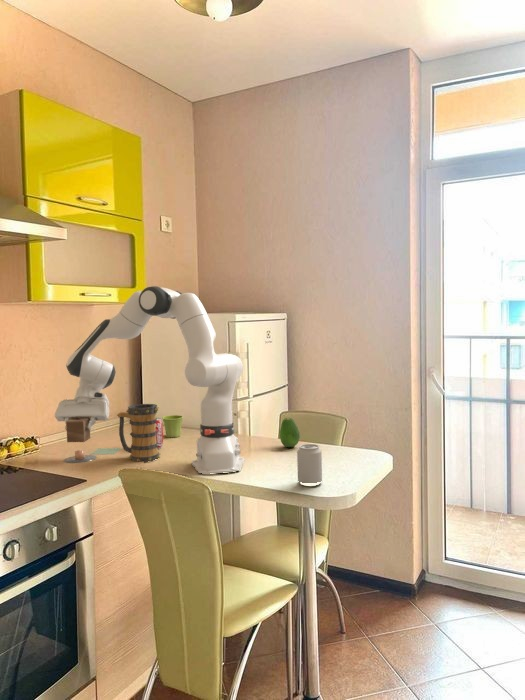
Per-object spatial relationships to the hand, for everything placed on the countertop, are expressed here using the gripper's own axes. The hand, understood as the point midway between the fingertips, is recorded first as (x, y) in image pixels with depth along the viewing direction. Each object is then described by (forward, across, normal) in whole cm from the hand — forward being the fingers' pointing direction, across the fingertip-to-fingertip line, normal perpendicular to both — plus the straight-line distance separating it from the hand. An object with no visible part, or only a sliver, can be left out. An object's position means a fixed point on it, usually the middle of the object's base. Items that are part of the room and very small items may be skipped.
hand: (77, 429), depth 209 cm
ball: (+8, 0, +8) cm, 12 cm away
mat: (0, +6, +17) cm, 18 cm away
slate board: (+8, 0, +9) cm, 12 cm away
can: (+32, +86, -16) cm, 93 cm away
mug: (+8, +23, +9) cm, 26 cm away
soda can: (-4, +24, +21) cm, 32 cm away
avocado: (-2, +79, +19) cm, 82 cm away
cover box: (+3, 0, +4) cm, 4 cm away
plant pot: (-20, +27, +37) cm, 50 cm away
